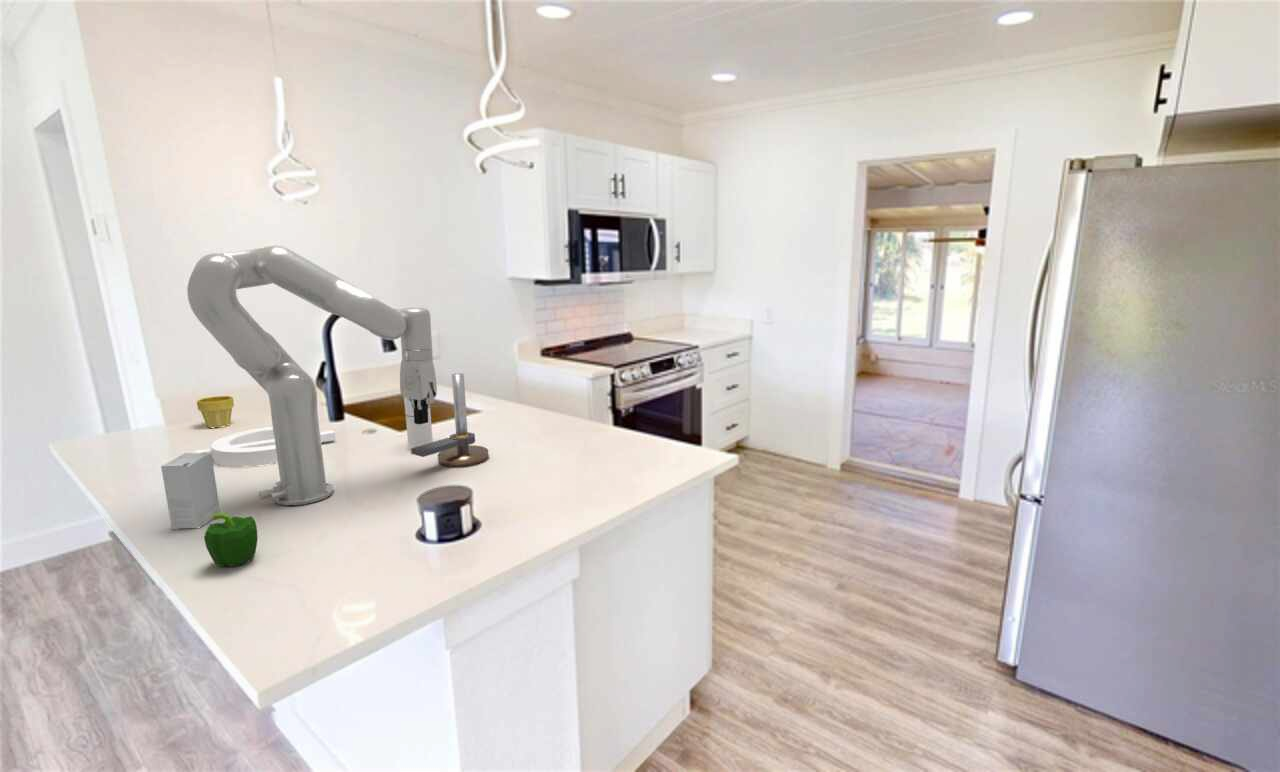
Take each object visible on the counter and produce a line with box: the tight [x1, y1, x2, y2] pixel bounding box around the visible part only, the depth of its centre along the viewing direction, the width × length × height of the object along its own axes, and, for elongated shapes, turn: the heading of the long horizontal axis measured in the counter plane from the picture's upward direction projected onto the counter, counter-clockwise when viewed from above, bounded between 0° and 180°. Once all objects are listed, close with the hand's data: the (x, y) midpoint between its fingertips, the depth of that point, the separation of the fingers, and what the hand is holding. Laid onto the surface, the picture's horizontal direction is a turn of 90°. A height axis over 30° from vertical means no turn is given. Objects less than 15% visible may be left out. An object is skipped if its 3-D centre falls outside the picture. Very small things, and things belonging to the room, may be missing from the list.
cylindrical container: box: [403, 396, 434, 451], centre depth 182 cm, size 7×7×25 cm
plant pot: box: [196, 395, 235, 428], centre depth 209 cm, size 10×10×10 cm
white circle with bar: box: [194, 426, 336, 468], centre depth 181 cm, size 28×28×5 cm
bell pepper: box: [203, 513, 258, 567], centre depth 114 cm, size 8×8×10 cm
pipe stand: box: [437, 372, 490, 468], centre depth 171 cm, size 14×14×25 cm
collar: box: [410, 431, 476, 458], centre depth 167 cm, size 18×7×2 cm, turn 145°
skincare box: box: [160, 452, 221, 530], centre depth 131 cm, size 8×6×15 cm
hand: (421, 422), depth 160 cm, fingers closed
